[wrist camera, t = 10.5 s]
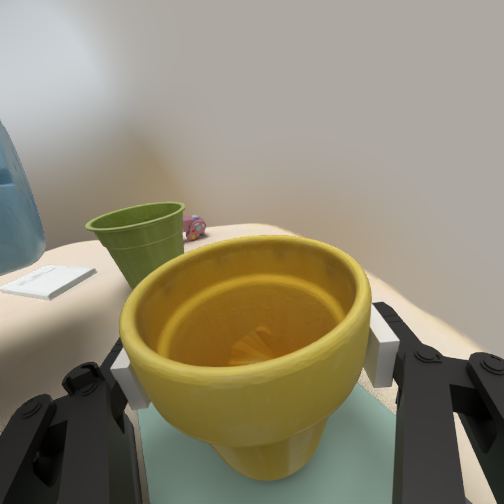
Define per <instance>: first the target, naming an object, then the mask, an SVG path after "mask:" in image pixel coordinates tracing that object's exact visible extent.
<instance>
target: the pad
mask: <svg viewBox="0 0 504 504" xmlns="http://www.w3.org/2000/svg"><path fill="white" fill-rule="evenodd" d="M137 413H138V420H139V428H140V435H141V442H142V449H143V456H144V464H145V471H146V478H147V485H148V492H149V500H150V504H392V491H393V471H394V452H395V432H396V415H394V414H393V413H392V412H391V411H390V410H389V409H388V408H386V407H385V406H384V405H383V404H382V403H381V402H380V401H378V400H377V399H376V398H375V397H374V396H373V395H372V394H371V393H369V392H368V391H367V390H366V389H365V388H364V387H363V386H361V385H360V384H359V383H358V382H357V383H356V385H355V387H354V389H353V390H352V392H351V393H350V395H349V396H348V398H347V399H346V400H345V401H344V402H343V404H342V405H341V406H340V407H339V408H338V409H337V410H336V411H335V412H334V413H333V414H331V415H330V416H329V417H328V420H327V423H326V426H325V428H324V431H323V434H322V437H321V439H320V442H319V445H318V447H317V449H316V451H315V453H314V454H313V456H312V457H311V459H310V460H309V461H308V462H307V463H306V464H305V465H304V466H303V467H302V468H301V469H300V470H298V471H297V472H295V473H293V474H292V475H290V476H288V477H285V478H282V479H278V480H272V481H261V480H255V479H251V478H248V477H246V476H243V475H241V474H239V473H238V472H236V471H235V470H234V469H232V468H231V467H230V466H229V465H228V464H227V463H226V462H225V461H224V460H223V459H222V458H221V457H220V456H219V455H218V453H217V452H216V451H215V450H214V449H213V448H212V447H211V446H210V445H209V444H208V443H205V442H202V441H200V440H197V439H194V438H192V437H190V436H188V435H186V434H184V433H182V432H181V431H179V430H177V429H176V428H174V427H173V426H172V425H171V424H169V423H168V422H167V421H166V420H165V419H164V418H163V417H162V416H161V415H160V414H159V412H158V411H157V410H156V408H155V407H154V405H153V404H152V402H150V404H149V407H148V409H137Z"/></svg>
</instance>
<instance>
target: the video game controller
mask: <svg viewBox="0 0 504 504" xmlns="http://www.w3.org/2000/svg"><path fill="white" fill-rule="evenodd" d="M205 228H206V224H205V222H204V220H203V219H202V218H200V217H198V216H197V215H193V216H192V217H189V216H183V228H182V232H186V231H187V232H186V237H187V239H188V240H189V241H193V240H195V239H196V238H197V237H198V235H199V234H203V233H204V231H205Z"/></svg>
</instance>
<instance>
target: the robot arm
mask: <svg viewBox="0 0 504 504" xmlns="http://www.w3.org/2000/svg"><path fill="white" fill-rule="evenodd" d="M44 250H45V237H44V231H43V227H42V223H41V220H40V216H39V213H38V210H37V206H36V203H35V200H34V198H33V194H32V191H31V188H30V186H29V183H28V180H27V178H26V175H25V172H24V170H23V167H22V164H21V162H20V159H19V157H18V154H17V152H16V150H15V147H14V145H13V143H12V141H11V138H10V136H9V134H8V132H7V131H6V129H5V127H4V126H3V125H2V123H1V121H0V276H2V275H5V274H8V273H11V272H14V271H17V270H19V269H22V268H25V267H28V266H30V265H32V264H33V263H35V262H36V261H38V260H39V259H40V257H41V256H42V255H43V253H44ZM363 367H364V369H365V371H366V373H367V375H368V377H369V379H370V381H371V383H372V385H373V387H374V388H381V387H392V381H393V378H394V380H395V381H396V383H397V385H398V386H399V387H398V392H397V397H396V402H395V404H397V412H396V432H395V452H394V471H393V491H392V504H466V500H465V493H464V486H463V479H462V472H461V465H460V458H459V451H458V444H457V437H456V429H455V422H454V415H453V412H456V413H458V416H459V418H460V420H461V423H462V425H463V427H464V429H465V432H466V434H467V436H468V438H469V441H470V443H471V445H472V448H473V450H474V452H475V454H476V457H477V459H478V461H479V463H480V466H481V468H482V470H483V472H484V475H485V477H486V479H487V482H488V484H489V486H490V488H491V491H492V493H493V495H494V497H495V500H496V502H497V504H504V359H502V358H500V357H498V356H495V355H493V354H489V353H484V352H476V353H473V354H471V356H470V358H469V360H463V359H456V358H450V357H445V356H443V355H442V354H441V353H440V352H439V351H437V350H436V349H434V348H433V347H430V346H428V345H425V344H422V343H421V341H420V340H419V339H418V338H417V337H416V335H415V334H414V333H413V332H412V331H411V330H410V328H409V327H408V326H407V325H406V324H405V322H403V320H402V319H401V318H400V317H399V316H398V314H397V313H396V312H395V311H394V309H393V308H392V307H390V306H389V305H387V304H385V303H384V302H377V303H371V318H370V328H369V337H368V343H367V349H366V355H365V360H364V364H363ZM62 386H63V387H64V389H65V390H66V391H67V393H68V394H69V395H66V396H64V397H61V398H58V399H55V400H53V399H52V398H51V396H50V395H47V394H42V395H38V396H36V397H34V398H32V399H30V400H28V401H27V402H25V403H24V404H23V405H22V406H21V407H20V408H18V409H17V411H16V412H15V413H14V414H13V416H12V417H11V419H10V421H9V422H8V424H7V426H6V427H5V429H4V431H3V432H2V434H1V436H0V504H57V502H58V504H136V499H135V490H134V481H133V472H132V463H131V454H130V445H129V436H128V426H127V417H126V414H125V412H124V409H125V407H126V405H127V403H129V405H130V407H131V409H132V410H136V409H148V407H149V404H150V402H151V400H150V399H149V397H148V395H147V394H146V392H145V390H144V388H143V386H142V385H141V383H140V381H139V379H138V377H137V375H136V373H135V371H134V369H133V367H132V365H131V363H130V360H129V358H128V356H127V354H126V351H125V349H124V347H123V344H122V341H121V338H119V339H118V341H117V342H116V344H115V346H114V347H113V348H112V350H111V352H110V353H109V354H108V356H107V357H106V359H105V360H104V362H103V363H102V365H101V366H100V368H99V366H98V365H97V363H95V362H87V363H84V364H81V365H79V366H77V367H76V368H74V369H73V370H72V371H70V372H69V373H68V374H67V375H66V376H65V378H64V379H63V381H62Z"/></svg>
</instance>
